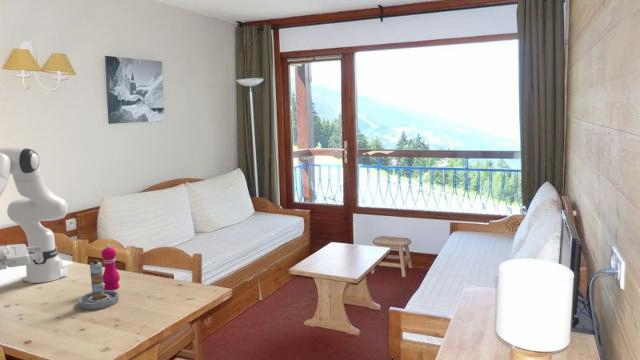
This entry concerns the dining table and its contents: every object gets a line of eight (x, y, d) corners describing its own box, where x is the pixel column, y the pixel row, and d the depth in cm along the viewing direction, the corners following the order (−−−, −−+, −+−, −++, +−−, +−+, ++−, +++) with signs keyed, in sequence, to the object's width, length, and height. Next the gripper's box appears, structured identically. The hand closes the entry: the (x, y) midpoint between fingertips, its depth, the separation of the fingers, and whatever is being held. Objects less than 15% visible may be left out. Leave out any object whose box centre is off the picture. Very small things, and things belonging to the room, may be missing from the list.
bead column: (94, 299, 211) (90, 258, 209) (105, 297, 212) (102, 257, 210) (92, 302, 207) (88, 261, 204) (103, 301, 208) (100, 260, 205)
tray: (83, 298, 215) (83, 292, 215) (121, 294, 218) (121, 288, 218) (75, 311, 201) (74, 305, 200) (115, 307, 204) (115, 301, 203)
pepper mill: (114, 291, 223) (110, 246, 220) (99, 290, 224) (95, 246, 221) (123, 285, 230) (120, 242, 227) (109, 285, 231) (105, 242, 228)
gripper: (-1, 256, 183) (43, 249, 191) (-2, 244, 200) (38, 238, 207) (2, 273, 184) (45, 266, 192) (0, 259, 201) (39, 253, 208)
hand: (41, 251), depth 200 cm, fingers open, 8 cm apart
